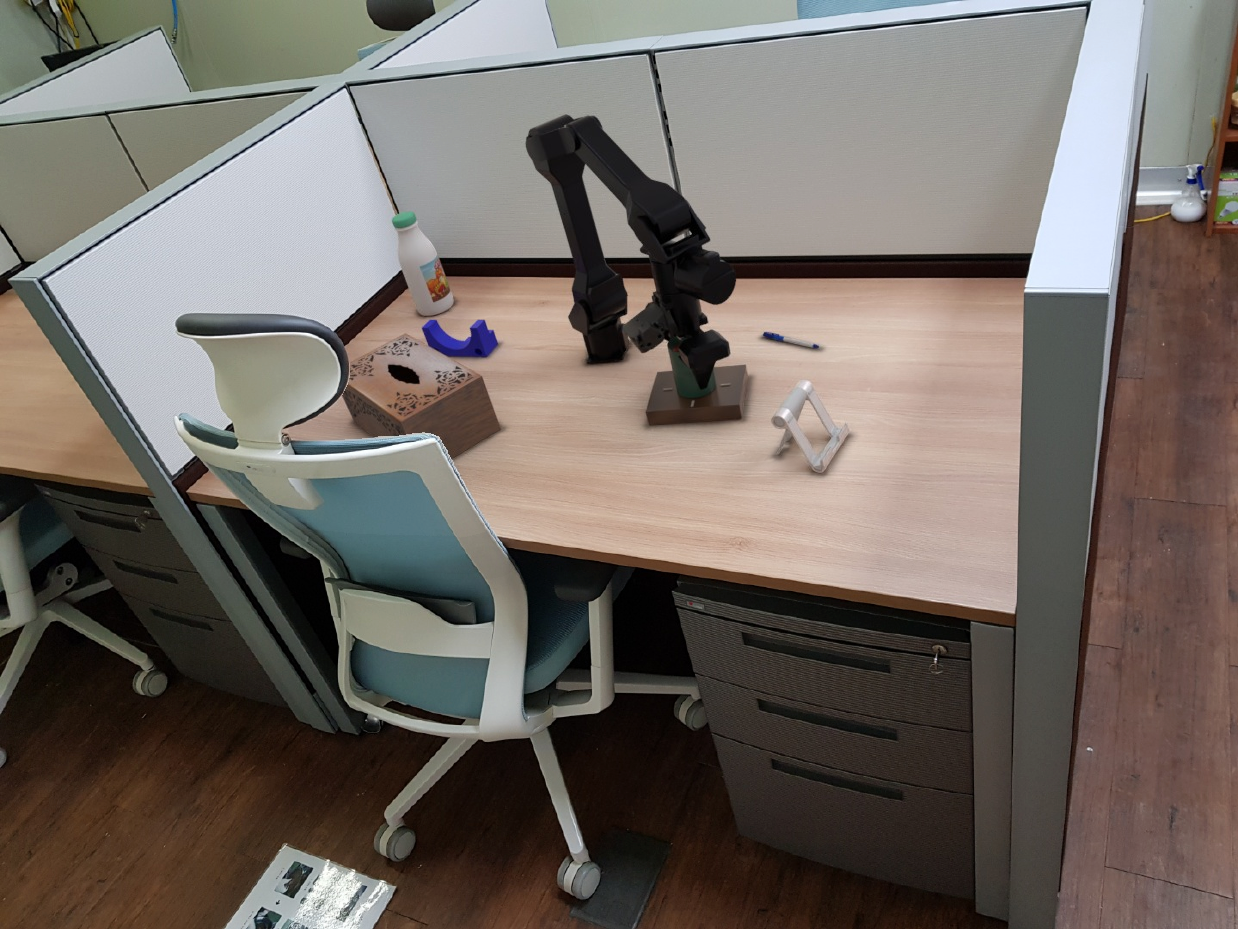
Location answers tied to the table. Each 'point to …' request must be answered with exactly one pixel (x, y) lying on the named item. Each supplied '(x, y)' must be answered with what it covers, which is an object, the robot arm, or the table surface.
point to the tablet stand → (788, 420)
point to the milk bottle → (421, 267)
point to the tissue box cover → (419, 395)
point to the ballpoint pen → (788, 340)
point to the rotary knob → (686, 374)
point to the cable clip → (471, 347)
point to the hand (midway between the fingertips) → (695, 379)
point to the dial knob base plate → (711, 407)
